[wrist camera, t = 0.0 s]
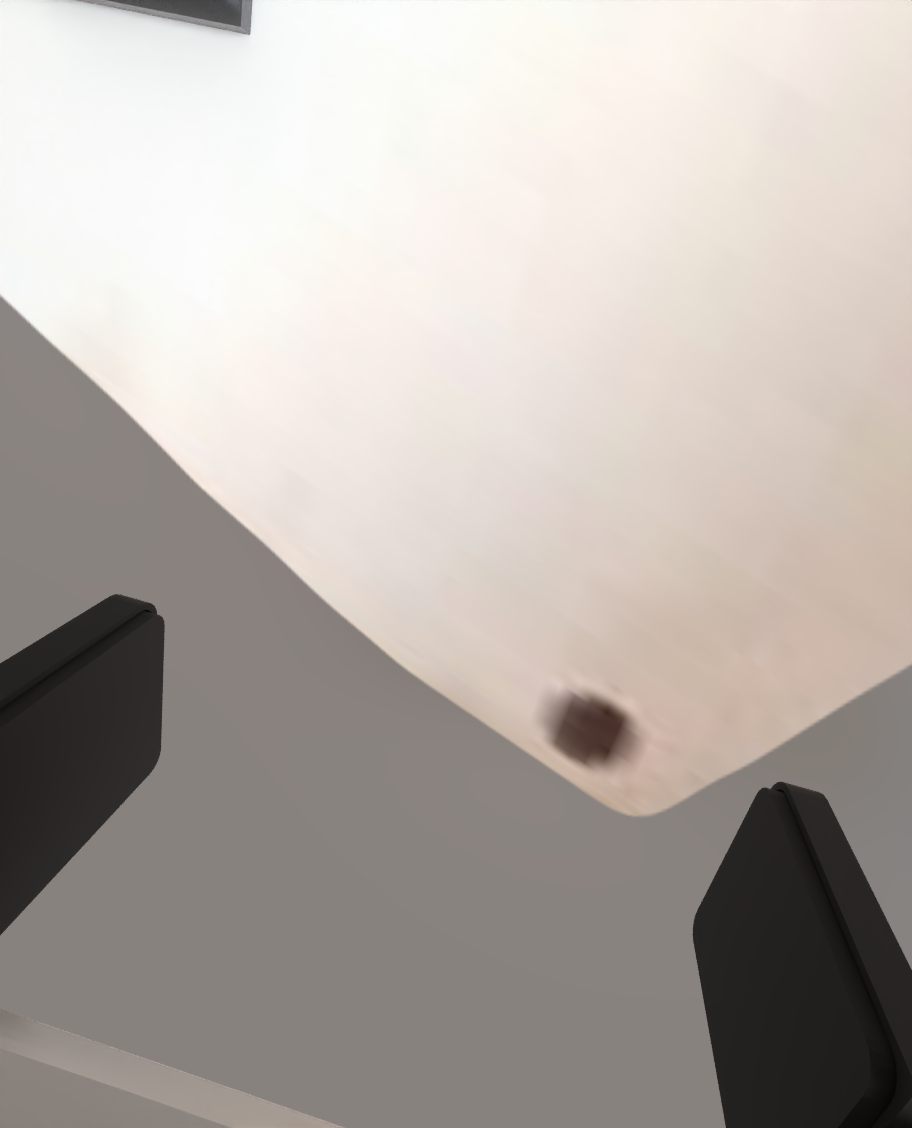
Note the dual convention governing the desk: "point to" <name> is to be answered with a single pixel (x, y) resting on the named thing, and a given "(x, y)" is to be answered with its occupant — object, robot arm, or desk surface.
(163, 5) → the grey piece
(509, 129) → the desk surface
